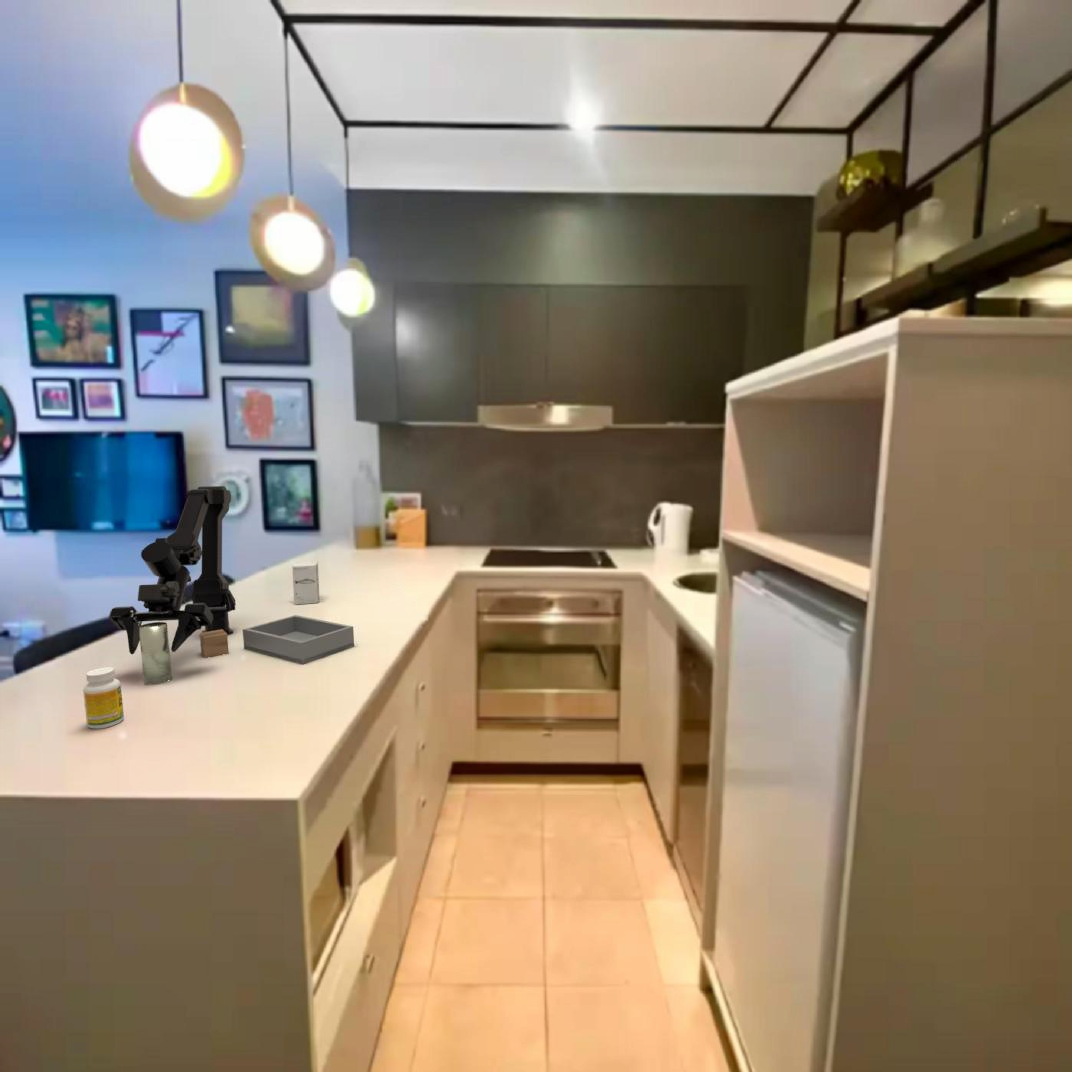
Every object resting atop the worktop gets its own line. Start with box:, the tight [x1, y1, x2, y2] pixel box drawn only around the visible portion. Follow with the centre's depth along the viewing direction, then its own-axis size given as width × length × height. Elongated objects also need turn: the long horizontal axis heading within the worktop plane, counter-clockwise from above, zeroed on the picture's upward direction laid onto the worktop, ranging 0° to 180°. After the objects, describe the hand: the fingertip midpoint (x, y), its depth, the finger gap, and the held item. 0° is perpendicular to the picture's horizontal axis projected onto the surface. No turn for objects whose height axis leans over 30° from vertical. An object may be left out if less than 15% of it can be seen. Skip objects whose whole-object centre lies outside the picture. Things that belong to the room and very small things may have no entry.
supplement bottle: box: [82, 666, 125, 730], centre depth 106 cm, size 5×5×10 cm
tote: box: [242, 614, 355, 665], centre depth 147 cm, size 22×15×5 cm
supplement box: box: [291, 561, 320, 606], centre depth 194 cm, size 7×7×13 cm
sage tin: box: [139, 621, 173, 685], centre depth 126 cm, size 5×5×12 cm
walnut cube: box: [199, 629, 230, 659], centre depth 144 cm, size 5×5×5 cm
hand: (152, 652), depth 125 cm, fingers open, 8 cm apart
